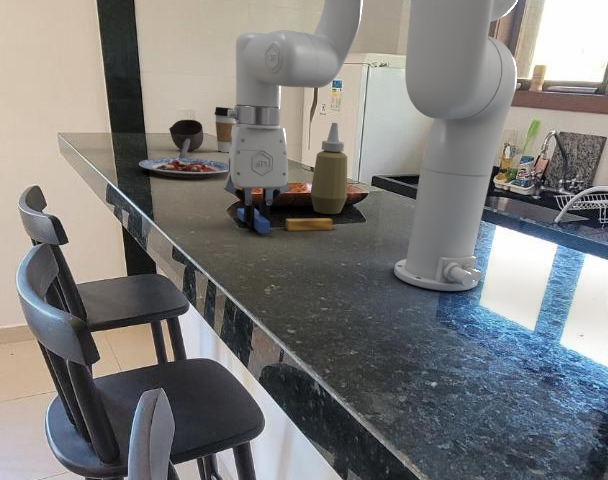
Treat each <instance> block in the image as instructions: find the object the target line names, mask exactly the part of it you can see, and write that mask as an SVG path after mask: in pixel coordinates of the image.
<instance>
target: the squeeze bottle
mask: <svg viewBox="0 0 608 480" xmlns="http://www.w3.org/2000/svg"><path fill="white" fill-rule="evenodd" d="M339 132H340V131H339V123H338V122H331V125H330V129H329V132H328V136H327V139H326V140H323V141H321V150H322V151H321V150H320V151H319V152H318V153H317V154H316V157H315V164H314V169H313V174H312V181H311V186H310V187H311V188H310V193H309V194H310V199H311V203H312V207H313V211H314V212H316V213H320V214H324V215H336V214H340V213H341V211H342V209H343V208H344V206H345V203H346V201H347V199H348V156H347V154H346V153H344V150H345V142H343V141H340V133H339Z"/></svg>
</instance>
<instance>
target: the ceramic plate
mask: <svg viewBox="0 0 608 480" xmlns="http://www.w3.org/2000/svg"><path fill="white" fill-rule="evenodd" d="M138 165H139V167H141V168H143V169H146V170H150V171H153V172H155V173H157V174H159V175H161V176H166V177H173V178H184V179H199V178H200V179H202V178H211V177H214V176H217V175H218V174H222V173H228V163H226V162H222V161H216V160H211V159H202V158H179V157H164V158H151V159H144V160H141V161H140V162H139V163H138Z"/></svg>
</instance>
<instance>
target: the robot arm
mask: <svg viewBox="0 0 608 480" xmlns="http://www.w3.org/2000/svg"><path fill="white" fill-rule="evenodd" d="M363 1H364V0H324V4H323V8H322V11H321V14H320V17H319V20H318V22H317V25H316V27H315V29H314V31H313V33H307V32H301V31H295V30H287V29H285V30H284V29H281V30H275V31H271V32H267V33H266V32H265V33H262V32H243V33H241V34H239V35H238V36H237V38H236V41H235V105H234V108H231V109H228V118H233V119H234V120H235V122H236V125H233V126H232V131H231V138H230V146H229V153H228V158H227V160H228V161H227V162H228V163H227V164H228V172H227V177H226V180H225V183H224V185H223V190H224V191H226V192H227V193H229V194H232V195H234V196H236V197H238V198H239V200H240V201H241V202H242V203H243V208H244V221H245V222H244V223H246V226H247V227H249V228H251V229H253V228H254V217H255V209H256V208H255V205H254V202H253V189H261V190H262V191H261V201H260V202H259V203H258V211H259V214H260V215H262V216H263V217H264V218H265V219H267V220H268V221H269V222H270V217H271V206H272V204H273V203H274V201H275V200H276V199H277V197H278V196H279V195H282V194H285V193H287V192H289V191H290V184H289V161H288V159H289V157H288V148H287V147H288V144H287V143H288V142H287V136H286V129H285V128H284V127H281V101H282V87H287V88H309V89H310V88H311V89H320V88H324V87H326V86H328V85H329V84H330V83H332V82H333V81H334V80H335V79H336V77H337V76H338V74H339V73H340V71H341V69H342V68H343V66H344V64H345V63H346V61H347V58H348V56H349V54H350V51H351V49H352V48H353V45H354V43H355V40H356V38H357V36H358V32H359V29H360V24H361V18H362V10H363ZM518 1H519V0H410V8H409V9H410V10H409V20H408V29H407V30H408V31H407V40H406V42H407V44H406V51H405V53H406V54H405V65H404V66H405V67H404V68H405V69H404V70H405V71H404V78H405V79H404V80H405V88H406V91H407V95H408V97H409V100H410V102H411V104H412V106H414V108H415V109H416V110H417V111H418V112H419V113H420V114H422V115H423V116H426V117H428V118H430V119H432V122H431V124H430V128H429V131H428V134H427V138H426V141H425V145H424V150H423V154H422V160H421V167H420V171H419V178H418V182H417V183H418V184H417V188H416V196H415V203H414V209H413V214H412V215H413V216H412V221H411V227H410V235H409V239H408V246H407V252H406V258H405V259H402V260H399V261H397V262H396V263H395V264H394V267H393V268H394V269H393V273H394V275H395V276H396V277H397V278H398V279H399V280H401V281H403V282H405V283H407V284H410V285H412V286H416V287H419V288H421V289H422V288H423V289H428V290H433V291H441V292H443V291H444V292H461V291H468V290H472V289H474V288H475V287H477V286H478V284H479V282H480V281H481V280H482V278H483V273H482V272H481V271H479V270H478V269H475V265H476V261H477V257H476V256H474V253H475V248H476V245H477V240H478V236H479V230H480V226H481V222H482V216H483V212H484V208H485V203H486V199H487V195H488V190H489V187H490V181H491V177H492V173H493V169H494V164H495V159H496V155H497V151H498V147H499V143H500V140H501V136H502V133H503V129H504V126H505V123H506V120H507V118H508V115H509V112H510V109H511V106H512V103H513V99H514V96H515V92H516V86H517V75H518V74H517V73H518V72H517V66H516V65H517V64H516V61H515V58H514V56H513V54H512V52H511V50H510V49H509V48H508V47H507V45H505V44H504V43H503V42H502V41H500V40H499V39H497V38H495V37H492V36H490V35H489V34H490V27H491V23H492V22H494V21H495V22H496V21H497V20H500V19H501V18H503V17H505V16H507V14H508V13H510V12H511V10H512V9H513V8H514V7H515V5H516V4H517V2H518Z"/></svg>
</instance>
